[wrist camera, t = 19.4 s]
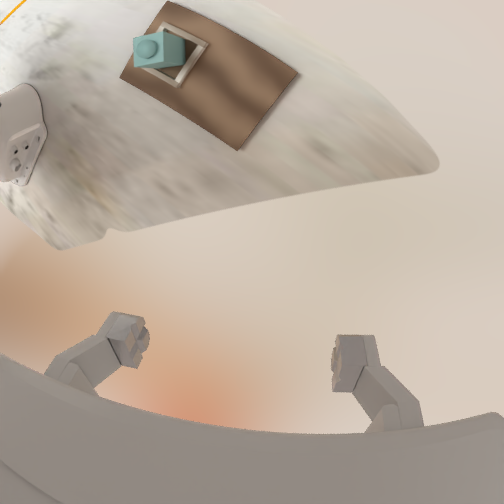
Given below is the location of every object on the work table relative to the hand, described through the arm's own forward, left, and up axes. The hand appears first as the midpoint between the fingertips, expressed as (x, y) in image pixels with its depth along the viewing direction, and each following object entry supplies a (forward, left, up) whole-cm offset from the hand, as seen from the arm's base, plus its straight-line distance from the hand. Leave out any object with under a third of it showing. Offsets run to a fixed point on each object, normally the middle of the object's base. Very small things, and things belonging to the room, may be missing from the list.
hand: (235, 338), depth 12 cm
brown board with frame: (+4, +16, -34) cm, 38 cm away
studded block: (+4, +21, -33) cm, 39 cm away
